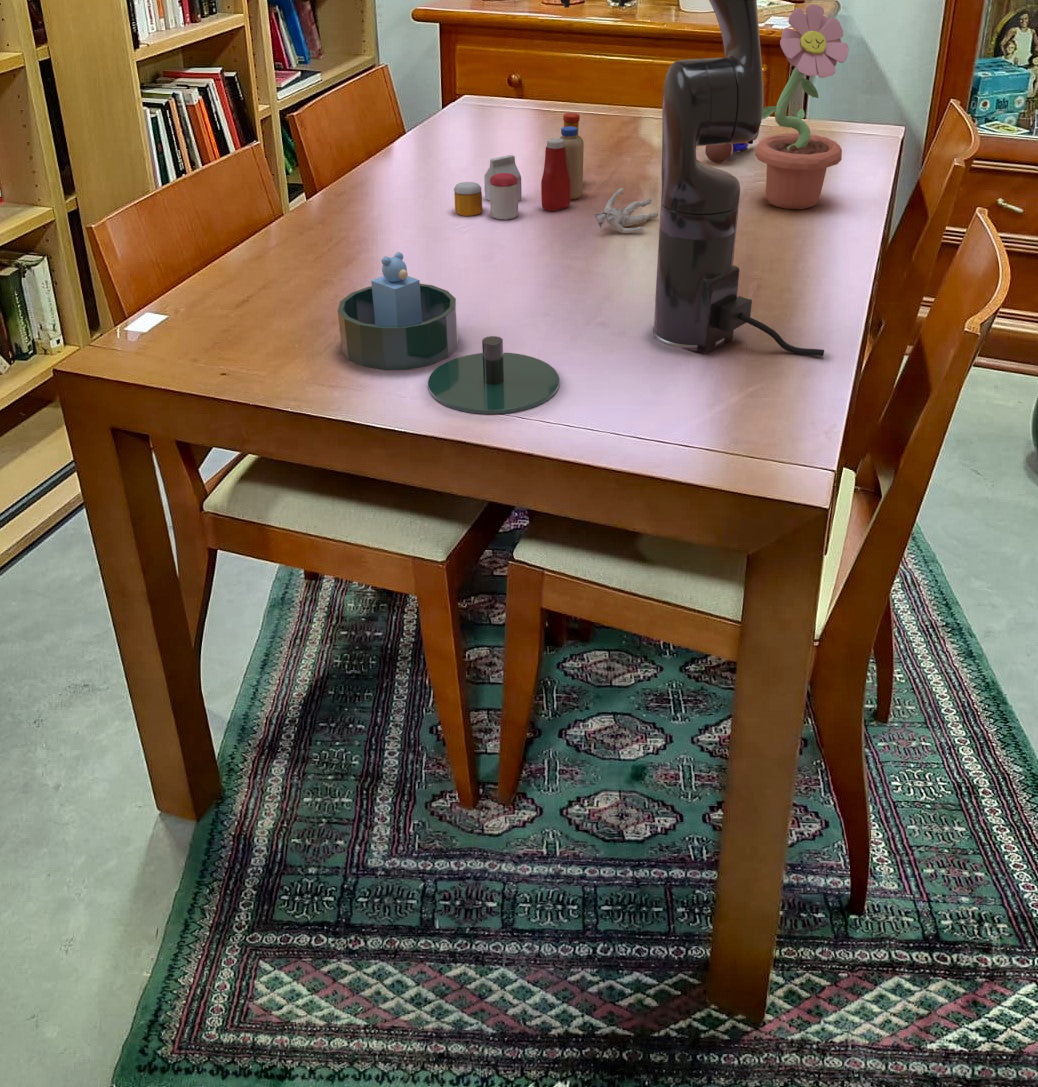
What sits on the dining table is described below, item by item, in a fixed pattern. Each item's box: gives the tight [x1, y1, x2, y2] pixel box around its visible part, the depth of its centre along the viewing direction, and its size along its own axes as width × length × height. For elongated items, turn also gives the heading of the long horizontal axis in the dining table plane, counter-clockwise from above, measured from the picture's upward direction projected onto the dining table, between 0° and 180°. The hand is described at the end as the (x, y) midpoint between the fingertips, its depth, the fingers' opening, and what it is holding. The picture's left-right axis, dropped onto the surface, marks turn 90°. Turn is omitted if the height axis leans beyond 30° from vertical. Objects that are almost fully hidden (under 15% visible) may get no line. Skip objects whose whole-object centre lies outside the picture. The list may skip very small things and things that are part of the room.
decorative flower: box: [754, 3, 850, 210], centre depth 180 cm, size 15×14×30 cm
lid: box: [427, 335, 560, 415], centre depth 131 cm, size 15×15×6 cm
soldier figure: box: [593, 187, 659, 234], centre depth 178 cm, size 8×5×12 cm
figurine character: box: [704, 130, 760, 164], centre depth 210 cm, size 7×8×15 cm
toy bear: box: [370, 251, 422, 326], centre depth 139 cm, size 4×4×12 cm
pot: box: [337, 283, 459, 371], centre depth 141 cm, size 14×14×6 cm
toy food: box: [453, 112, 585, 221], centre depth 187 cm, size 27×13×12 cm, turn 124°
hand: (593, 4), depth 172 cm, fingers open, 8 cm apart
